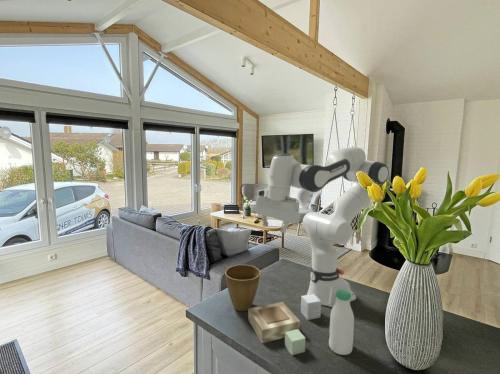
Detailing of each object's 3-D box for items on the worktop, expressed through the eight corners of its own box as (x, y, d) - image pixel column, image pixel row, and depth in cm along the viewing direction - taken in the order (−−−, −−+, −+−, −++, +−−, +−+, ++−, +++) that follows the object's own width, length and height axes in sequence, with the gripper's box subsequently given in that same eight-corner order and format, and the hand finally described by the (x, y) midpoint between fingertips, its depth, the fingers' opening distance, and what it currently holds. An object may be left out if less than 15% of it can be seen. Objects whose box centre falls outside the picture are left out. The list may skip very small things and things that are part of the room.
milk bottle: (357, 353, 91) (360, 296, 88) (337, 358, 88) (340, 300, 86) (343, 338, 98) (346, 285, 96) (324, 342, 96) (326, 288, 93)
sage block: (297, 342, 96) (297, 329, 95) (304, 351, 91) (305, 338, 91) (284, 345, 94) (285, 332, 93) (291, 355, 89) (292, 341, 89)
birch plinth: (282, 313, 113) (282, 301, 112) (299, 333, 100) (300, 320, 99) (248, 320, 108) (248, 307, 107) (262, 343, 95) (262, 329, 94)
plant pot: (218, 306, 118) (218, 270, 116) (244, 294, 128) (244, 261, 126) (240, 321, 107) (240, 283, 105) (266, 307, 117) (267, 272, 115)
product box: (313, 309, 116) (314, 293, 115) (320, 318, 110) (321, 301, 109) (300, 311, 114) (300, 295, 113) (307, 320, 108) (307, 303, 107)
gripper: (304, 199, 101) (299, 235, 102) (264, 190, 115) (261, 222, 117) (294, 199, 96) (289, 237, 98) (254, 190, 111) (250, 223, 112)
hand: (273, 229), depth 107 cm, fingers open, 8 cm apart
